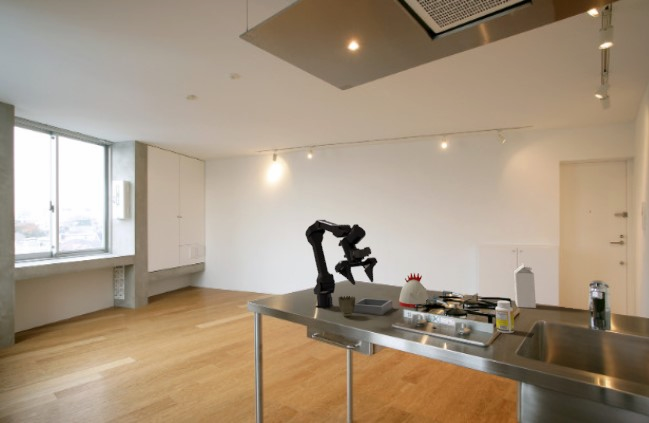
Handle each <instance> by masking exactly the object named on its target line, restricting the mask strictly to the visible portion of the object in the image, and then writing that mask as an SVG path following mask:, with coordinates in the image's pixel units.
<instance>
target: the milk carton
mask: <svg viewBox="0 0 649 423" xmlns="http://www.w3.org/2000/svg"><path fill="white" fill-rule="evenodd" d="M513 284H514V297H515V298H514V300H515V301H514V302H515V305H516V307H517V308H527V309H529V308H530V309H537V303H536V302H537V300H536V286H535V285H536V284H535V274H534V272H532V267H530V266H529V265H527V266H525V263H523V262H521V265H520V266H519V267H517V268H516V269H515V270H514V271H513Z"/></svg>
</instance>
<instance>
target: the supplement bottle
mask: <svg viewBox="0 0 649 423" xmlns="http://www.w3.org/2000/svg"><path fill="white" fill-rule="evenodd" d="M496 305H497V306H495V324H496V330H497V331H498V332H499V333H502V334H503V333H504V334H513V333H514V332H515V318H514V308H513V307H512V306H511V301H509V300H497V304H496Z"/></svg>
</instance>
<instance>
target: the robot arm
mask: <svg viewBox="0 0 649 423" xmlns="http://www.w3.org/2000/svg"><path fill="white" fill-rule="evenodd" d="M326 232H329V233H332V236H333V237H335V238H337V239H339V241H338V244H337V245H338V247H341V248H342V251H343V253H344V255H343V258H344V259H345V258H346V259H345V260H344V259H342V260H339V261H338V263H336V264H335V266H334V271H335V273H339V275H342V277H344V278H345V279H346V280H348V281H349V282H350V284H352V285H353V286H356V281H355V278H354V275H353V273H352V268H356V267H357V268H358V267H362V268H363V271H364V273H365V274H366V276H367V278H368V280H369V281H370V282H371V283H374V267H375V266H376V264H377V263H378V259H377V257H374V256H372V257H370V255H371V254H372V249H371V248H370V247H371V246H365V247H363V248H359V247H357V245H358V244H359V243H360V242H361V241H362V240H363V239H364V238H366V231H365V230H364V228H363V227H361V226H360V225H359V224H358V223H356V224H353V225H352V226H351V225H350V224H338V223H334V222H331V221H327V220H326V219H317V220H315V222H314V223H312V224H310V225H309V226H308V228H307V229H306V230H305V238H306V239H307V242H308V244H309V245H311V248H312V252H313V256H314V261H315V266H316V270H317V277H316V280H315V282H316V284H315V286H314V288H313V293H314V295H316V305H315V308H319V309H322V308H323V309H329V308H331V307H334V304H333V297H332V294H334V293H335V288H336V281H335V278H334V276H335V275H334V274H333V273H330V272H329V269H328V266H327V261H326V256H325V251H324V249H323V248H324V247H323V244H322V243H323V240H324V235H325V234H326ZM341 238H342V239H341ZM365 257H367V258H366V259H365Z"/></svg>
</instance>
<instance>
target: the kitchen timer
mask: <svg viewBox="0 0 649 423" xmlns="http://www.w3.org/2000/svg"><path fill="white" fill-rule="evenodd" d="M422 278H423V276H422V275H420V273H417V275H416V273H415V272H413V274H412V272H411V273H410V275H407V278H406V277H404V280H405V283H404V285H403V286H402V288H401V290H400V293H399V302H398V305H399V306H401V307H405V308H414V307H415V305H417V304H425V303H426V300H427V299H429V300H430V298H429V295H428V291H427V288H426V287H425V286H424V285H423V284H422V283H421V280H422ZM407 279H408V280H407ZM414 309H415V308H414Z"/></svg>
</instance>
